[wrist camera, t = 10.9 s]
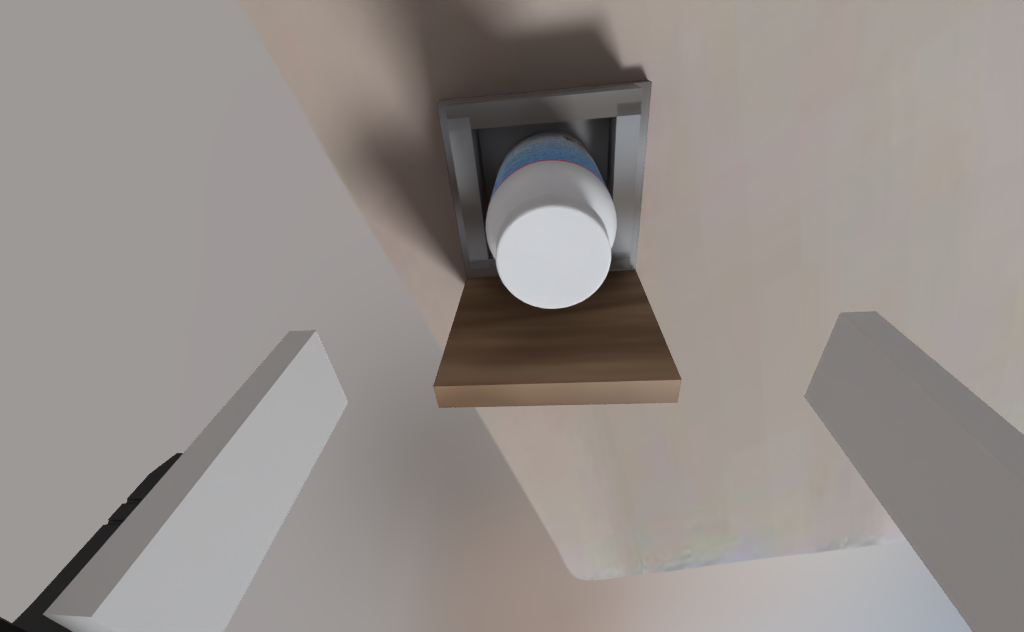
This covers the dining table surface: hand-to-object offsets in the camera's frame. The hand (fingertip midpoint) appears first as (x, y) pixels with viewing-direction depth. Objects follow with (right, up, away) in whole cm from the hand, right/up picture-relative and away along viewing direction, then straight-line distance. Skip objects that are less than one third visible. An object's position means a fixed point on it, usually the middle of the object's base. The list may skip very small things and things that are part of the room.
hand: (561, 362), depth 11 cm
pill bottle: (+1, +10, +15) cm, 18 cm away
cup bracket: (+1, +9, +16) cm, 18 cm away
